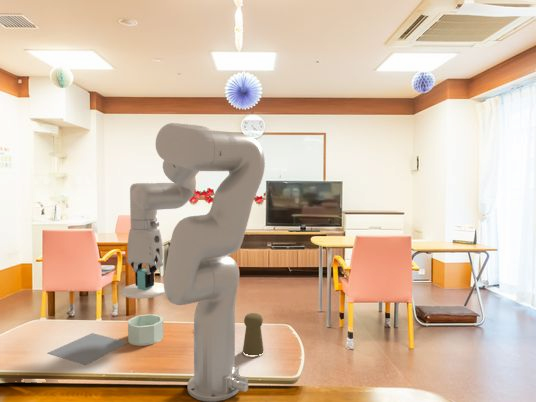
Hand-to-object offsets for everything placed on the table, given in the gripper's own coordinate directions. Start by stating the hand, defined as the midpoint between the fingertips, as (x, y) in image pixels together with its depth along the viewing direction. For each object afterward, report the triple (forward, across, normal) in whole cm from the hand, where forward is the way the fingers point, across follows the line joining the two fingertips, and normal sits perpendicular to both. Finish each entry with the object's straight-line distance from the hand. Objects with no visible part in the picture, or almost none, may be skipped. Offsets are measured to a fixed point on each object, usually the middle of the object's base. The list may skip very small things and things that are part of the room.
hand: (144, 285), depth 117 cm
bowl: (+17, 0, 0) cm, 17 cm away
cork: (+17, -33, -7) cm, 38 cm away
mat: (+17, +10, +12) cm, 23 cm away
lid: (+2, 0, 0) cm, 2 cm away
